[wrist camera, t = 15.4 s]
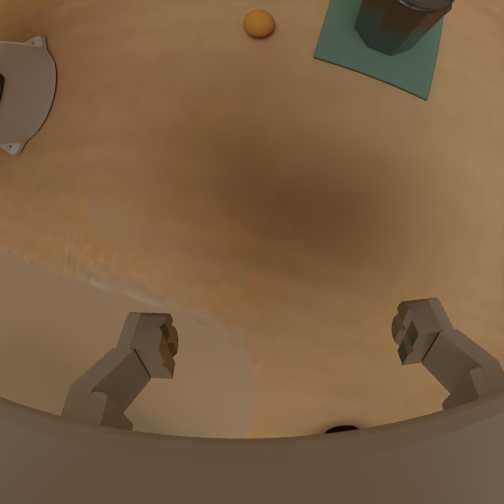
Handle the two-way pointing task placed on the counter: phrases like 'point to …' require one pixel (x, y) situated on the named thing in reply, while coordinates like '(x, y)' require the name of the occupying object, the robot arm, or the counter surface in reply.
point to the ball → (259, 23)
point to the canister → (397, 22)
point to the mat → (373, 62)
